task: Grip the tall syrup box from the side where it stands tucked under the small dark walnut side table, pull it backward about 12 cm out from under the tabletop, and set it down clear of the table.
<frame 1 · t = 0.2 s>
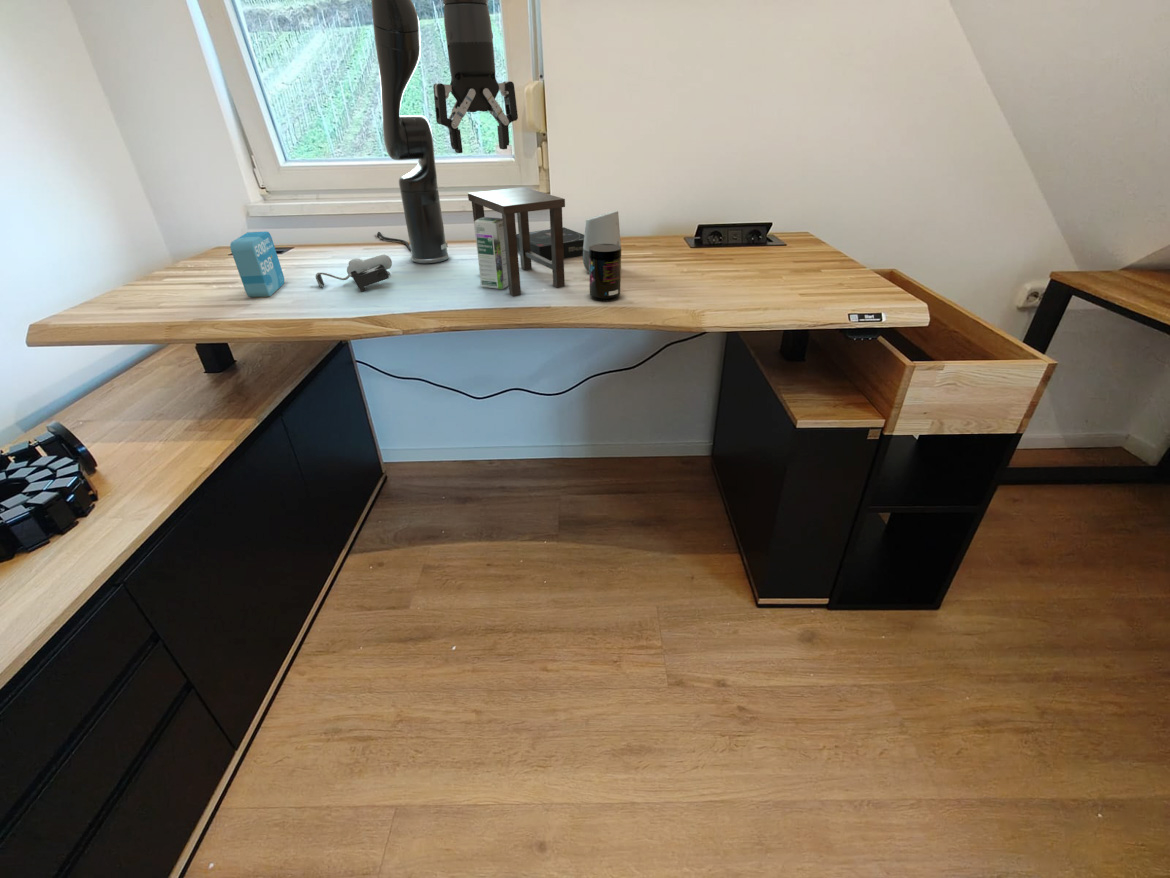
hand: (481, 150, 100), 29 cm above the table, tool pointing down, fingers open, 8 cm apart
side table: (521, 280, 131), on the table
supplement container: (605, 298, 120), on the table
smart speaker: (601, 272, 136), on the table
portable cd player: (552, 252, 154), on the table
clip-on lamp: (355, 285, 130), on the table
syrup box: (497, 285, 128), on the table
data package: (268, 291, 128), on the table
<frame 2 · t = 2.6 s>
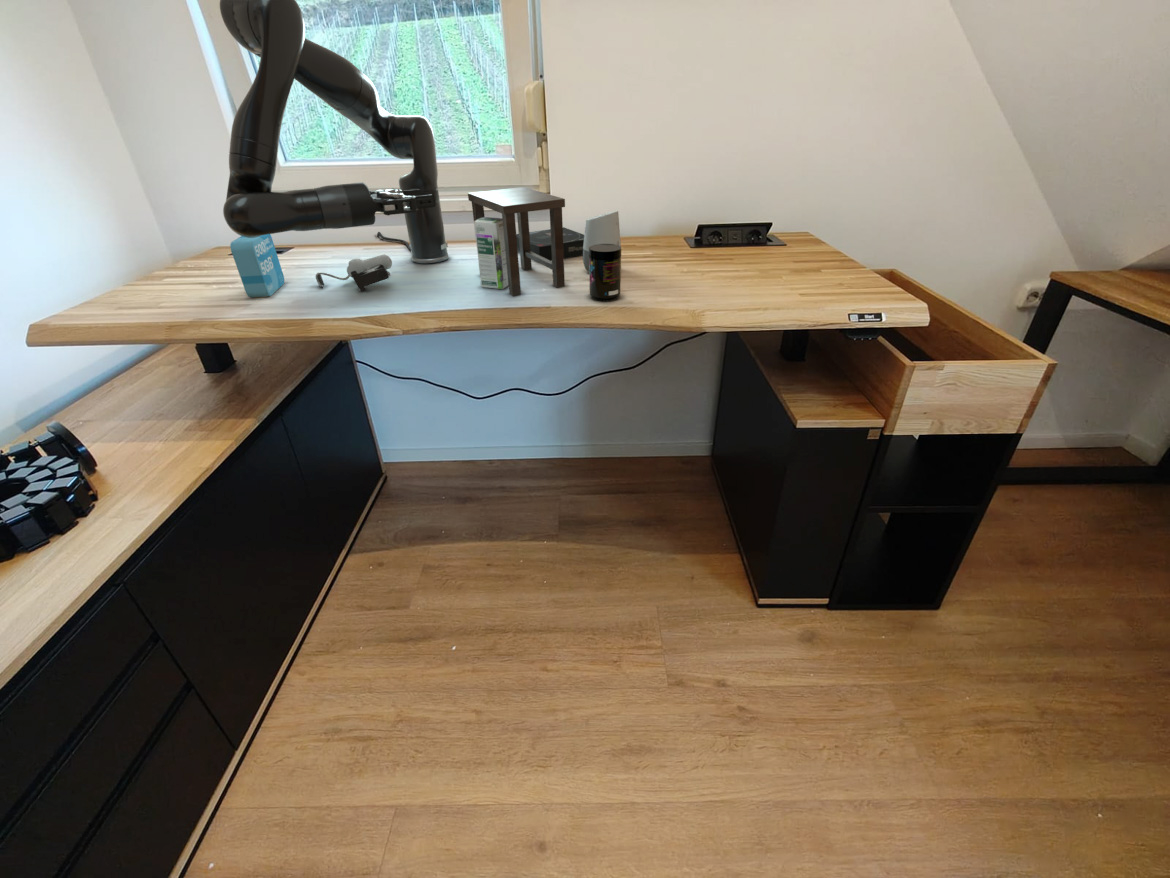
hand: (428, 197, 112), 20 cm above the table, tool horizontal, fingers open, 8 cm apart
nothing on the table moved.
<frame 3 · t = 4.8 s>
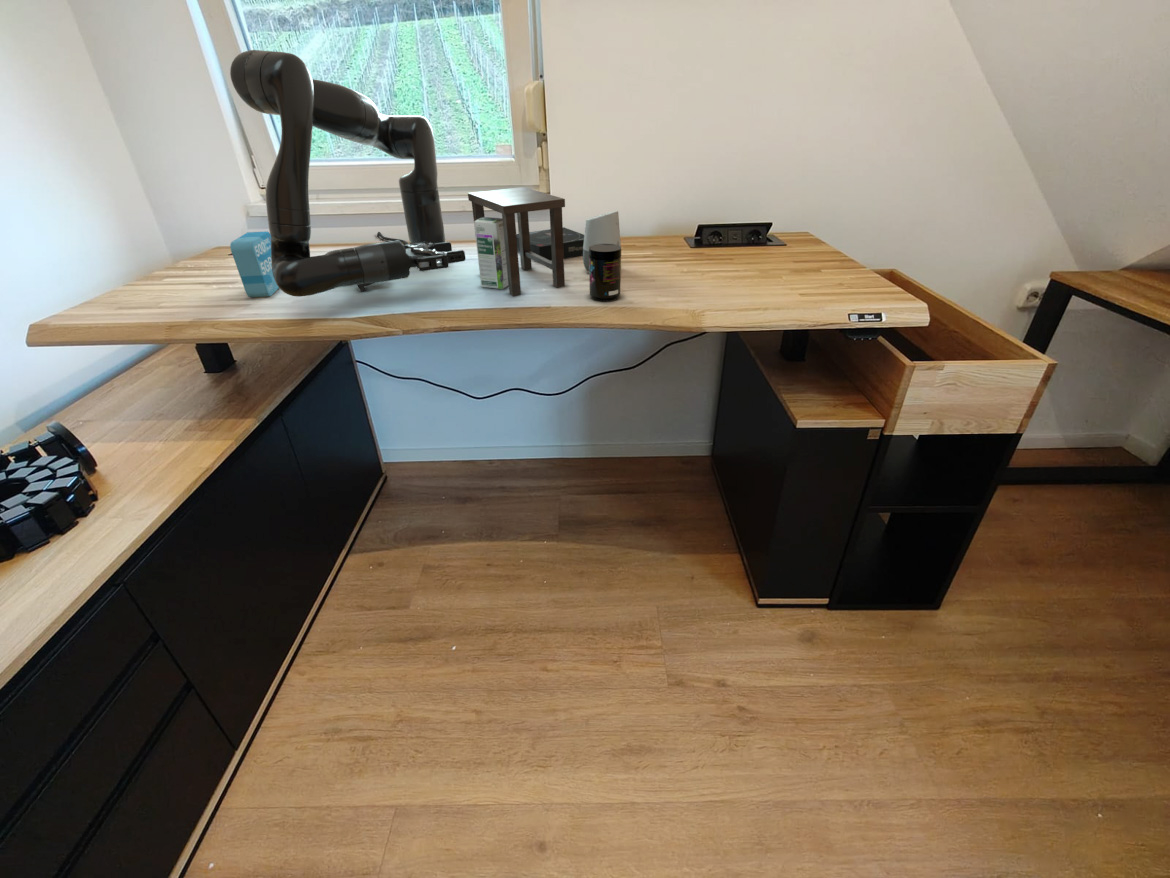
hand: (457, 250, 120), 9 cm above the table, tool horizontal, fingers open, 8 cm apart
nothing on the table moved.
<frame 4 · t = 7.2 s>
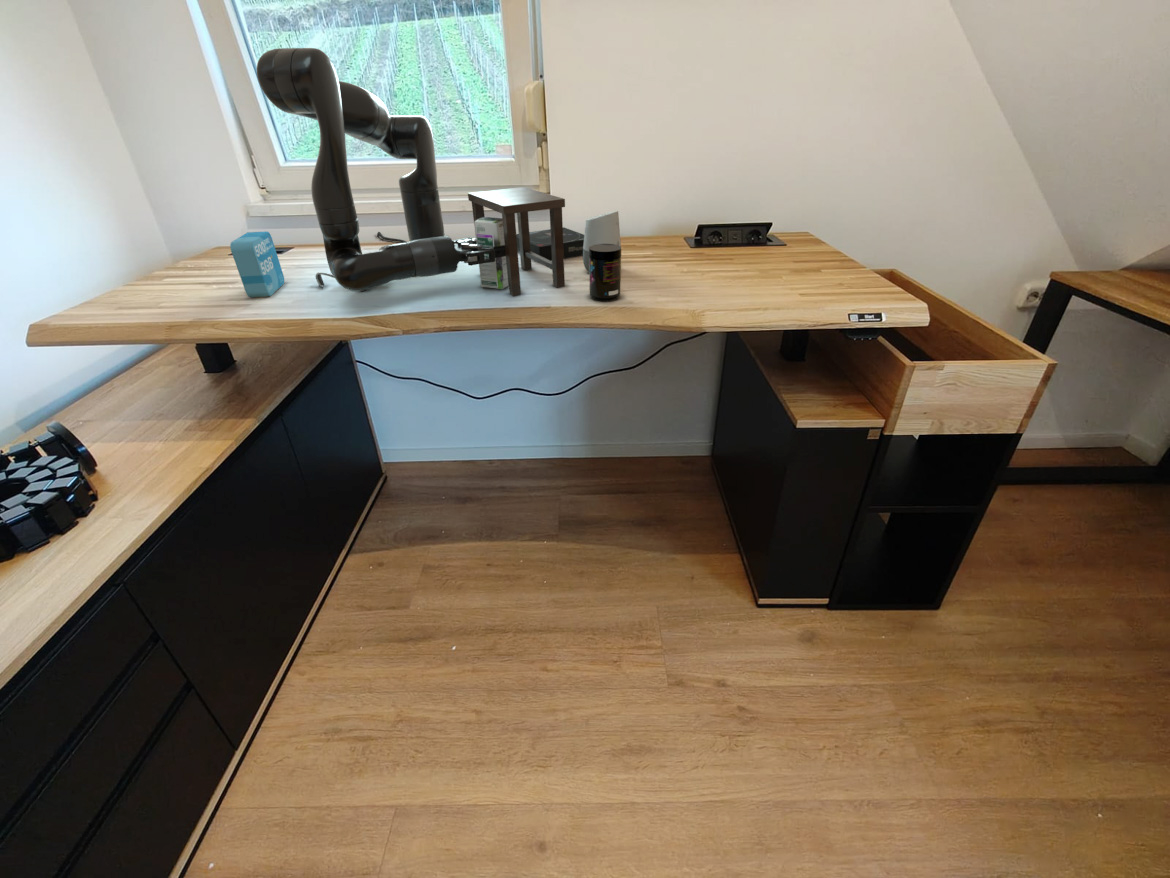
hand: (501, 246, 124), 9 cm above the table, tool horizontal
syrup box: (497, 285, 128), on the table, touching gripper
everything else where it was.
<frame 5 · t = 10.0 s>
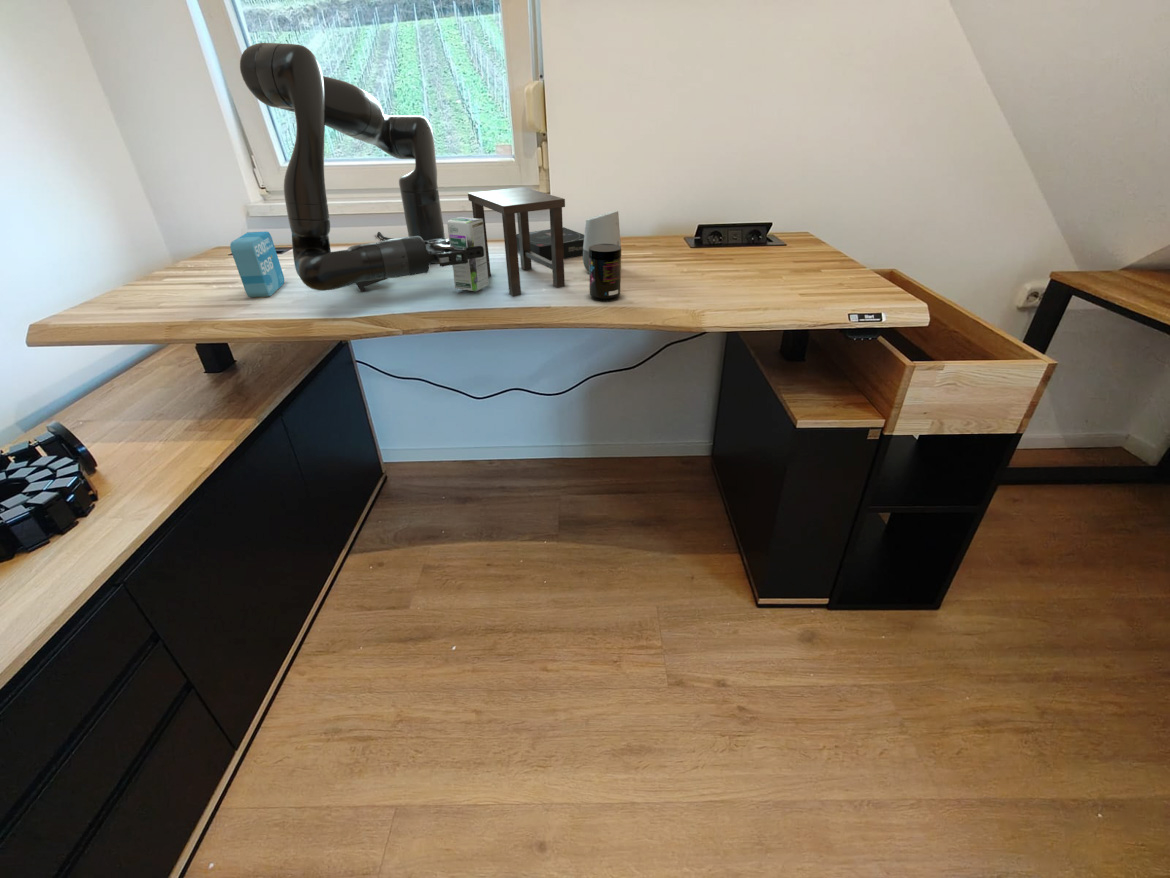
hand: (475, 247, 122), 9 cm above the table, tool horizontal
syrup box: (472, 287, 125), on the table, touching gripper
everything else where it was.
when the fingers open (9 cm above the table, at t = 13.1 s): syrup box stays where it is, on the table.
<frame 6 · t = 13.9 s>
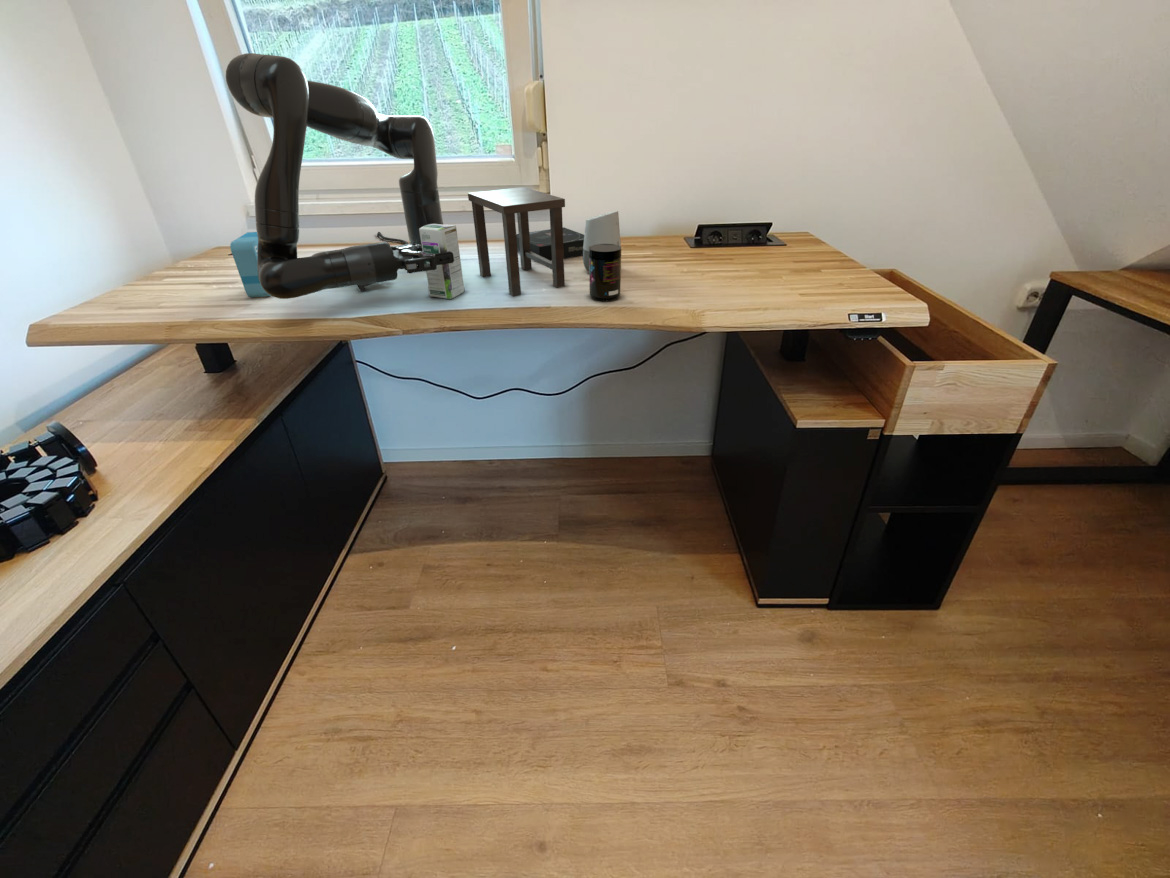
hand: (446, 252, 119), 9 cm above the table, tool horizontal, fingers open, 8 cm apart
syrup box: (447, 295, 123), on the table
everything else where it was.
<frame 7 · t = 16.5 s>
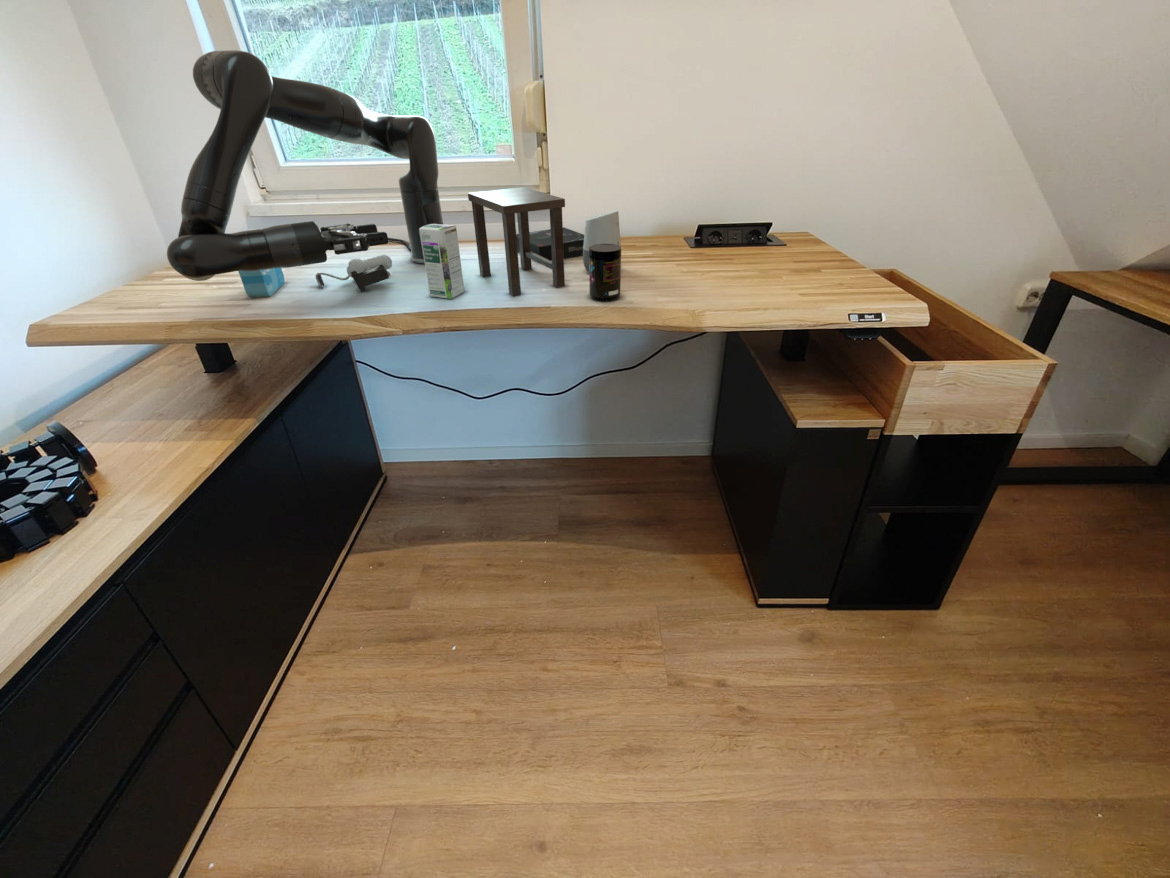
hand: (381, 233, 111), 14 cm above the table, tool horizontal, fingers open, 8 cm apart
nothing on the table moved.
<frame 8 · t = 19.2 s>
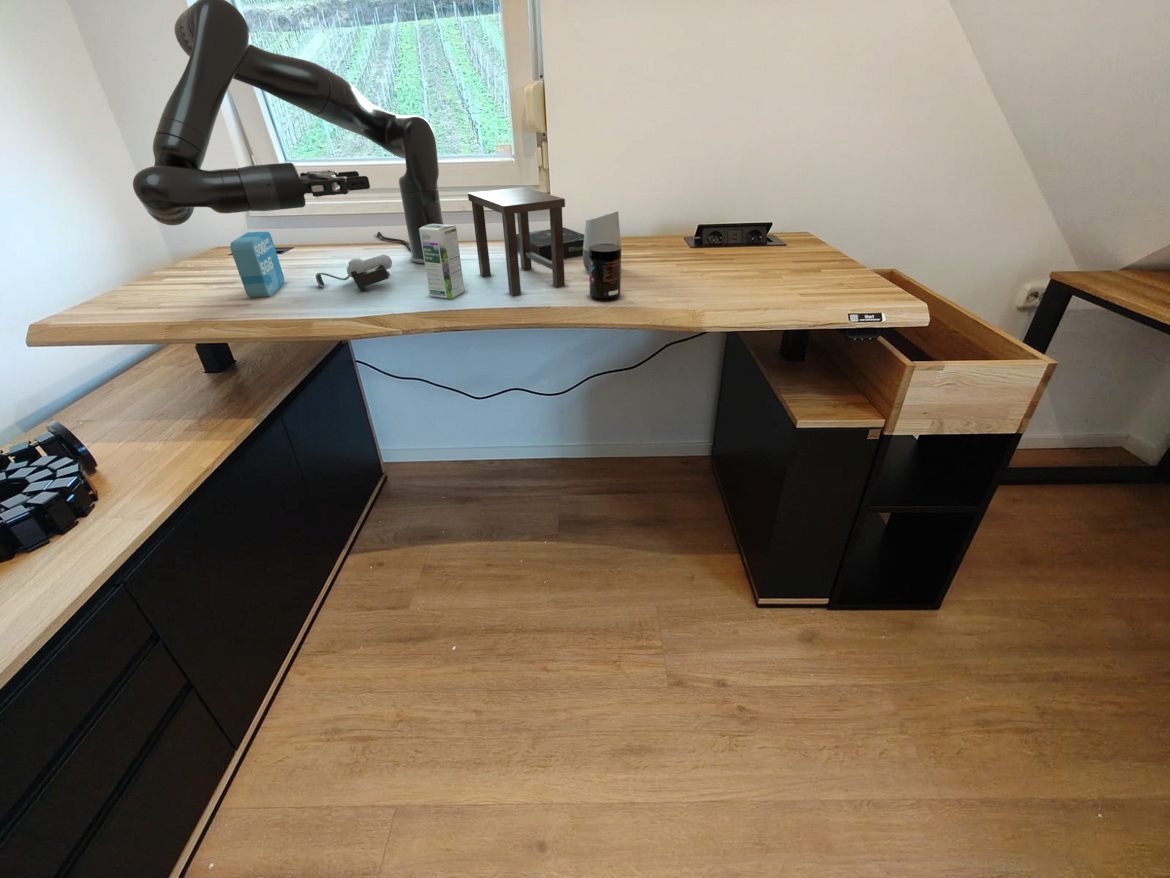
hand: (363, 179, 107), 24 cm above the table, tool horizontal, fingers open, 8 cm apart
nothing on the table moved.
at the end: syrup box inside the target area (0.0 cm from its centre), on the table; syrup box tilted 0°; syrup box touching table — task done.
